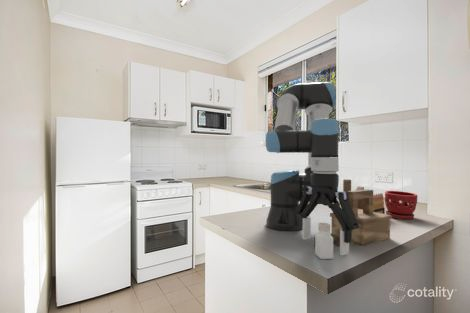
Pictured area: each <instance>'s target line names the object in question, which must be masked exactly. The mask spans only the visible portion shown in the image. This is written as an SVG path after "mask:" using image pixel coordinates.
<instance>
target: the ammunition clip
mask: <svg viewBox="0 0 470 313" xmlns="http://www.w3.org/2000/svg"><path fill="white" fill-rule="evenodd" d="M373 212H377V213H382V214H386V208H385V200H384V193H382V192H381V193H375V194H374V193H373Z"/></svg>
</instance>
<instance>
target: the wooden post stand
mask: <svg viewBox="0 0 470 313" xmlns="http://www.w3.org/2000/svg"><path fill="white" fill-rule="evenodd" d="M347 193H348V200H349V203H350V205H351V207H352V210H353V212H354V215H355V217H356V220H357V222H358V224H361V225H365V224H370V223H375V222H379V221H384V220H389V219H390V220H392V218H393V217H392V215H387V214H386V213H385V214H382V213H377V212H373V195H374V189H367V188H366V189H365V188H364V190H356V189H355V190H351V191H347ZM358 199H363V210H362V209H358ZM329 217H330V218H332V217H334V218H336V216H335V215H334V213H333V212H331V213H329Z"/></svg>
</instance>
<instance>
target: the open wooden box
mask: <svg viewBox="0 0 470 313" xmlns="http://www.w3.org/2000/svg"><path fill="white" fill-rule="evenodd" d="M358 225H359V228H358V229H354V230H352V241H351V242H350V243H352V244H354V245H357V246H361V247H364V246H368V245H371V244H374V243H378V242H382V241H385V240H389V239H390V238H391V219H389V220H384V221H379V222H375V223H370V224H365V225H361V224H358ZM341 229H343V228H342V226H341V225H340V223H339V221H338V220H337V218H334V217H331V234H332V233H333V234H336V235H339V236H340V230H341Z"/></svg>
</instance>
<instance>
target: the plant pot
mask: <svg viewBox="0 0 470 313" xmlns="http://www.w3.org/2000/svg"><path fill="white" fill-rule="evenodd" d="M417 204H418V194H416V193H412V192H408V191H399V190H386V191H384V205H385V207H386V209H387V210H385V214H387V215H392V218H393V219H400V220H411V219H413V218H415V214H414V212H415V211H416V208H417Z"/></svg>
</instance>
